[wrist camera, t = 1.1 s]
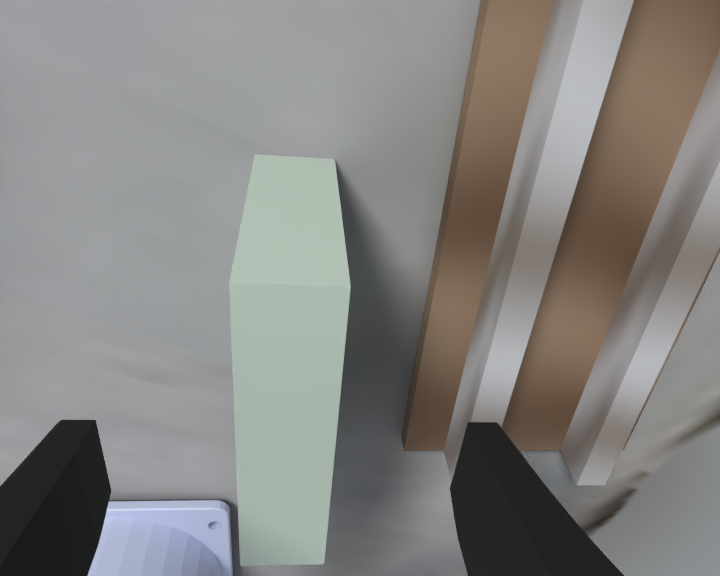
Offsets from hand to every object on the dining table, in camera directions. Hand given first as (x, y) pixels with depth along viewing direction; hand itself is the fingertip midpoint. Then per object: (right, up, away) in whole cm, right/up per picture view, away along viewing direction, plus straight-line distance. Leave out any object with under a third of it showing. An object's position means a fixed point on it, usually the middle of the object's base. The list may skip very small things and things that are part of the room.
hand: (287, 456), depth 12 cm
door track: (+8, +5, +5) cm, 10 cm away
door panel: (-1, +3, +5) cm, 6 cm away
